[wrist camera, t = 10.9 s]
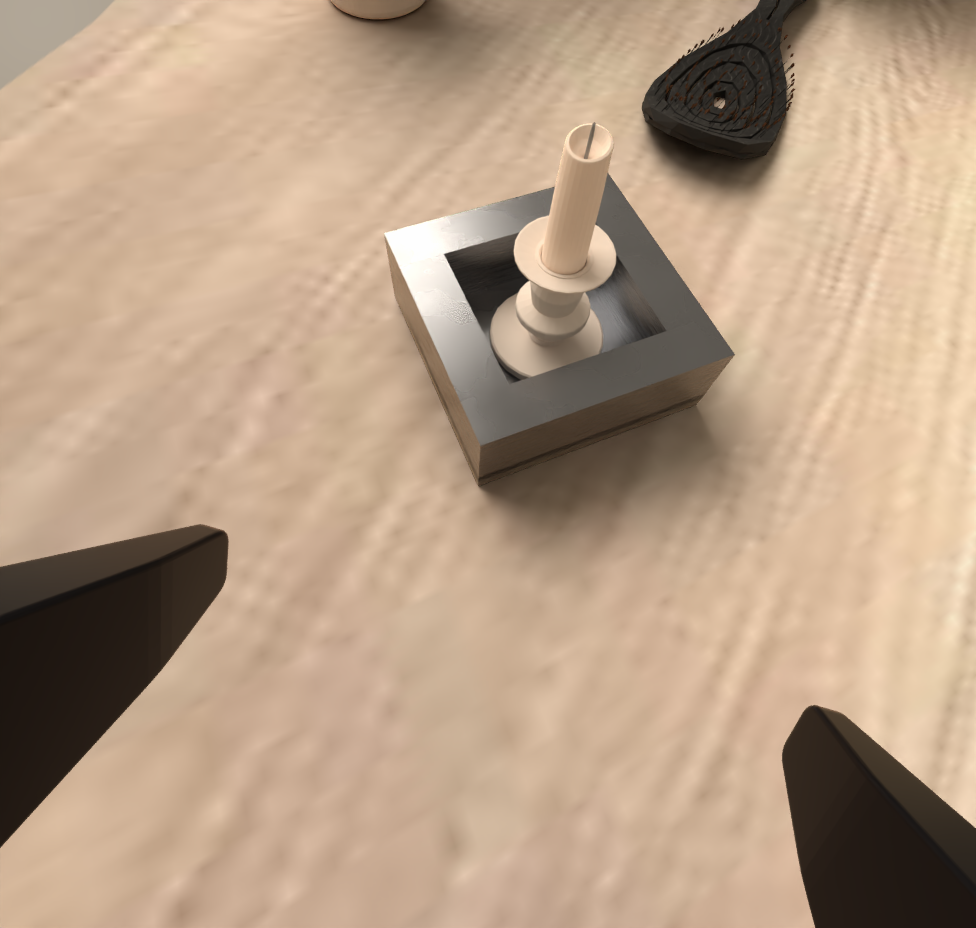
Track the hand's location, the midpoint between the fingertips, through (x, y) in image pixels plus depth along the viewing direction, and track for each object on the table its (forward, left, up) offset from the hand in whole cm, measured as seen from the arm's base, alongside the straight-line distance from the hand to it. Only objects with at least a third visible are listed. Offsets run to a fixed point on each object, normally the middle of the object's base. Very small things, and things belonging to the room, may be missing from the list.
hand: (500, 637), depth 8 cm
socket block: (+13, -8, -13) cm, 20 cm away
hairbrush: (+28, -31, -14) cm, 44 cm away
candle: (+12, -8, -13) cm, 20 cm away
